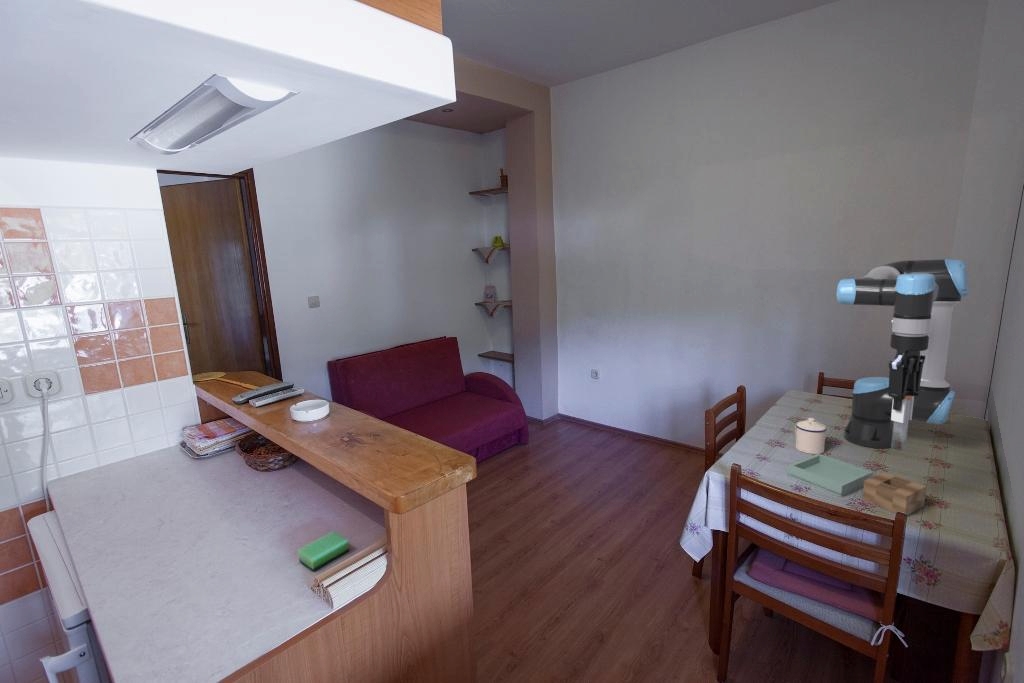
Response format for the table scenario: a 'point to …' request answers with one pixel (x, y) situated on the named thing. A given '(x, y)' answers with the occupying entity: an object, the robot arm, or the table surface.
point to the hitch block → (894, 493)
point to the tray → (829, 474)
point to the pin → (901, 429)
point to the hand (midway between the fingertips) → (901, 419)
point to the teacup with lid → (810, 436)
